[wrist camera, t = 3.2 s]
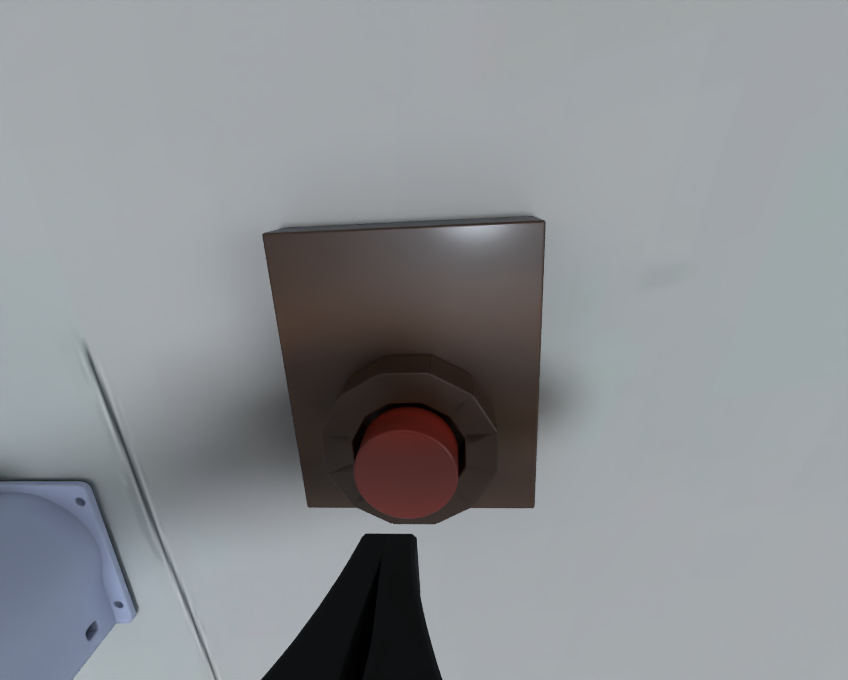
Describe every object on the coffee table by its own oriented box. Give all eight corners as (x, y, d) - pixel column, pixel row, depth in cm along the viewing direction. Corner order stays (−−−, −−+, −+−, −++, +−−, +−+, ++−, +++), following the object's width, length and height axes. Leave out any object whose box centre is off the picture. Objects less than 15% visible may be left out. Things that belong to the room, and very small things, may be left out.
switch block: (526, 477, 21) (542, 541, 17) (321, 477, 22) (293, 539, 18) (535, 216, 17) (558, 224, 13) (283, 227, 18) (237, 238, 14)
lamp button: (459, 487, 17) (459, 520, 15) (367, 487, 17) (358, 519, 16) (456, 404, 16) (457, 430, 14) (358, 406, 16) (347, 431, 14)
